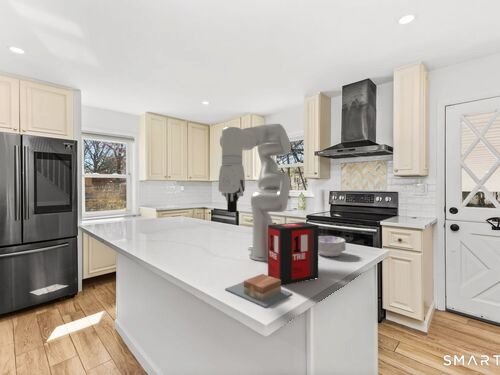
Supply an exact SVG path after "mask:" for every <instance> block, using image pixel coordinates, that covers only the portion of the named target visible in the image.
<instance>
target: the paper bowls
mask: <svg viewBox="0 0 500 375" xmlns="http://www.w3.org/2000/svg"><path fill="white" fill-rule="evenodd" d="M346 246H347V245H346V239H345V238H342V237H339V236H333V235H321V236H319V235H318V255H321V256H324V257H328V256H330V257H331V258H334V256H335V257H339V256H340V255H341V254H342V252H345V251H346ZM330 257H329V258H330Z"/></svg>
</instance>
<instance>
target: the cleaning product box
mask: <svg viewBox="0 0 500 375" xmlns="http://www.w3.org/2000/svg"><path fill="white" fill-rule="evenodd" d="M318 237H319V225H318V224H314V223H309V222H303V221H301V222H300V221H299V222H291V223H290V222H288V223H277V224H276V223H274V224H273V225H268V261H267V275H268V276H271V277H274V278H277V279H280V280H281V287H282V286H287V284H288V285H292V283H293V284H297V282H298V283H301V282H302V281H303V282H307V281H306V280H308V281H311V280H310V279H314V280H316V279H315V278H318V279H319V252H318Z"/></svg>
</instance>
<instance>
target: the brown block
mask: <svg viewBox="0 0 500 375" xmlns="http://www.w3.org/2000/svg"><path fill="white" fill-rule="evenodd" d="M243 282H244V293H245V294H247V295H249V296H252V297H254V298H257V299H259V300H261V301H263V300H266V299H268V298H270V297H272V296H274V295H276V294H278V293H280V292H281V289H282V286H281V280H280V279H277V278H274V277H271V276H268V274H265V273H262V274H259V275H255V276H253V277H251V278H248V279H244V280H243Z"/></svg>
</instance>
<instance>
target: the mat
mask: <svg viewBox="0 0 500 375" xmlns="http://www.w3.org/2000/svg"><path fill="white" fill-rule="evenodd" d="M224 290H225V291H226V292H229V293H231V294H233V295H235V296H238V297H240V298H242V299H245V300H247V301H249V302H252V303H254V304H255V305H257V306H260V307H262V308H263V309H264V308H265V309H266V308H269V307H271V306H272V305H275V304H276V303H279V301H283V300H284V299H286V298H288V297H290V296H292V295H293V293H292V292H290V291H287V290H284V289H282V288H281V292H280V293H278V294H276V295H274V296H272V297H270V298H268V299H266V300H263V301H261V300H259V299H257V298H254V297H252V296H249V295H247V294H245V293H244V281H243V282H239V283H236V284H233V285H231V286H228V287H226V288H224Z"/></svg>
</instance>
